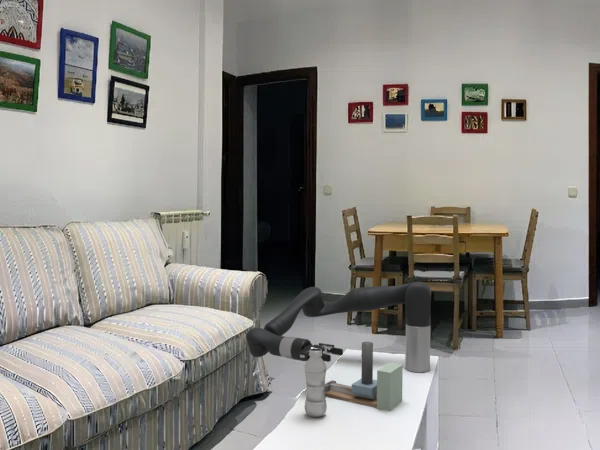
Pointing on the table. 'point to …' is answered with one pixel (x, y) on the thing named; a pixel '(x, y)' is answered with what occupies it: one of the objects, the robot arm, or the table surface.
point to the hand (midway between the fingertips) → (336, 355)
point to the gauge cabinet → (389, 386)
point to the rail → (347, 394)
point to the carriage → (366, 374)
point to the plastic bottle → (315, 384)
